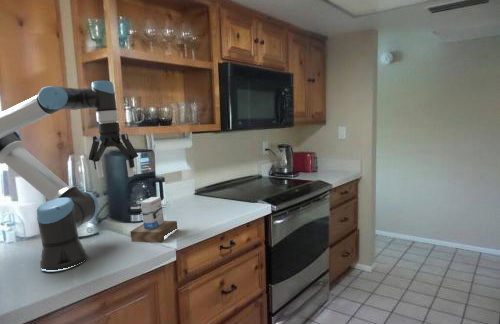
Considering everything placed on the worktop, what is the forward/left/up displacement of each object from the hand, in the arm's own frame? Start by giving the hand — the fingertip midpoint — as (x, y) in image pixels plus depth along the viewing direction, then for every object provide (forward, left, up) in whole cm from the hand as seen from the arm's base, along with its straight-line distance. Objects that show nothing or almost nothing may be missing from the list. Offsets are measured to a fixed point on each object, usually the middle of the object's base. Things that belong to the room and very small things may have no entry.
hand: (115, 176), depth 132 cm
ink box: (+7, +12, -24) cm, 28 cm away
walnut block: (+7, +12, -29) cm, 32 cm away
